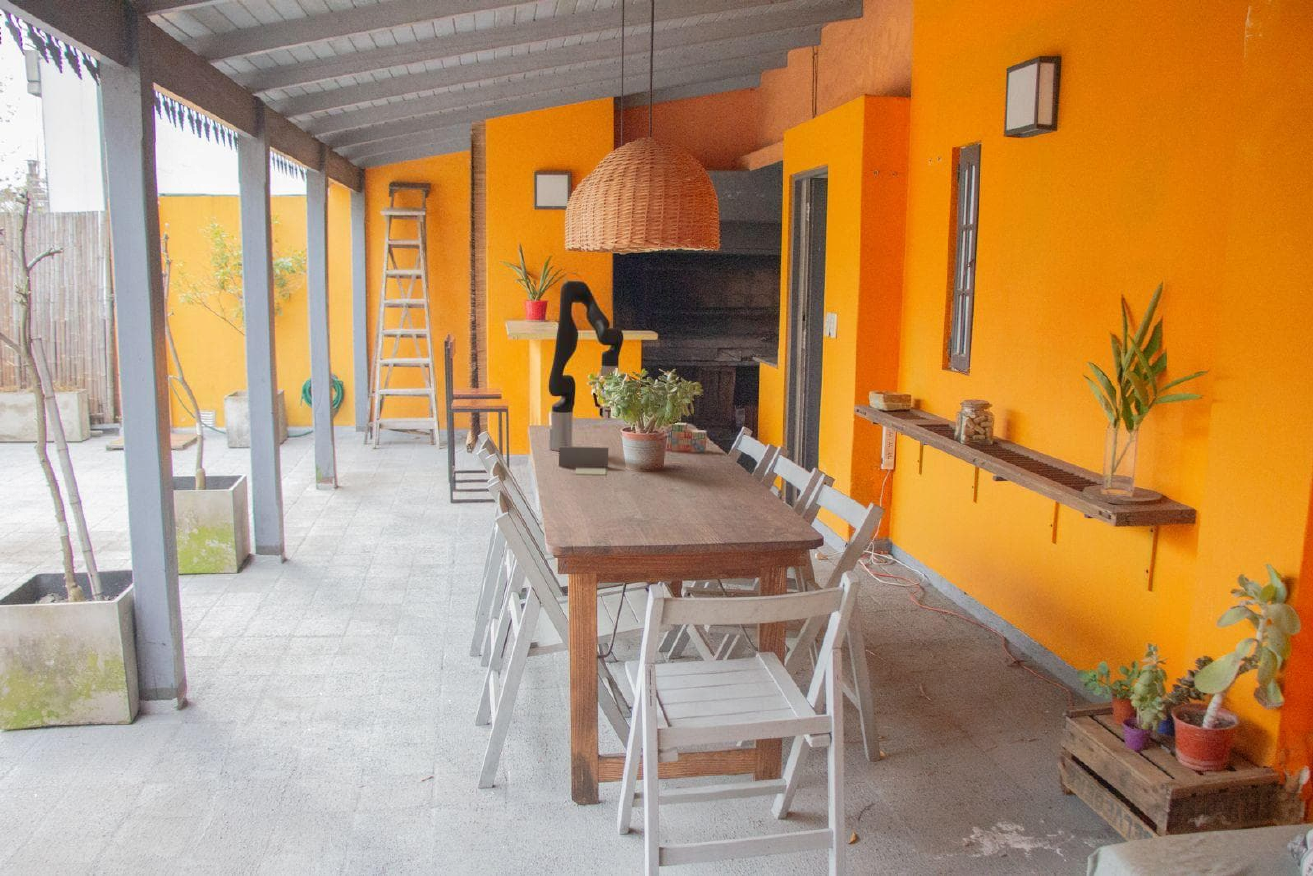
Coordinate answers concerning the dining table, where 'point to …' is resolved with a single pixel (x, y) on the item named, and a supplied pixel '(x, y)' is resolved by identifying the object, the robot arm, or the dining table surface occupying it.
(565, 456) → the charcoal wall
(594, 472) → the sage pad
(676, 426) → the stack of blocks
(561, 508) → the dining table surface
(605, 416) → the marked cube
